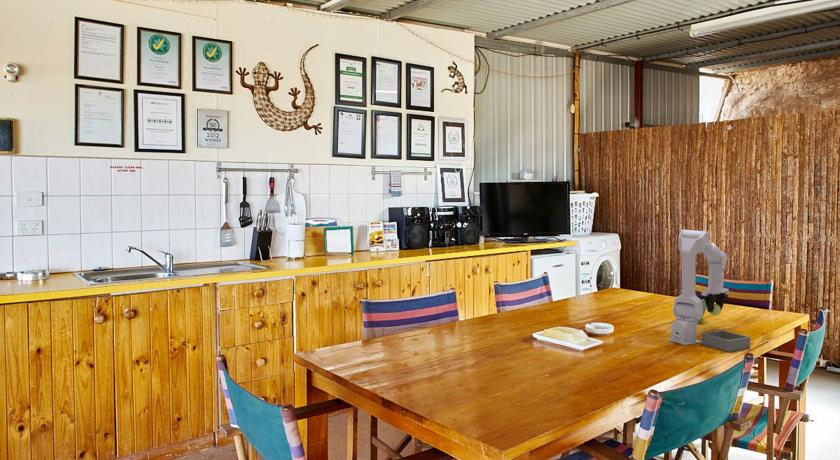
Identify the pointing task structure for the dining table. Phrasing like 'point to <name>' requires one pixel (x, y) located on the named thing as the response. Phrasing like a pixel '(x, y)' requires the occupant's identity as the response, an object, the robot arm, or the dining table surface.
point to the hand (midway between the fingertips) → (714, 311)
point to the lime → (716, 310)
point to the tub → (725, 341)
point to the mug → (703, 309)
